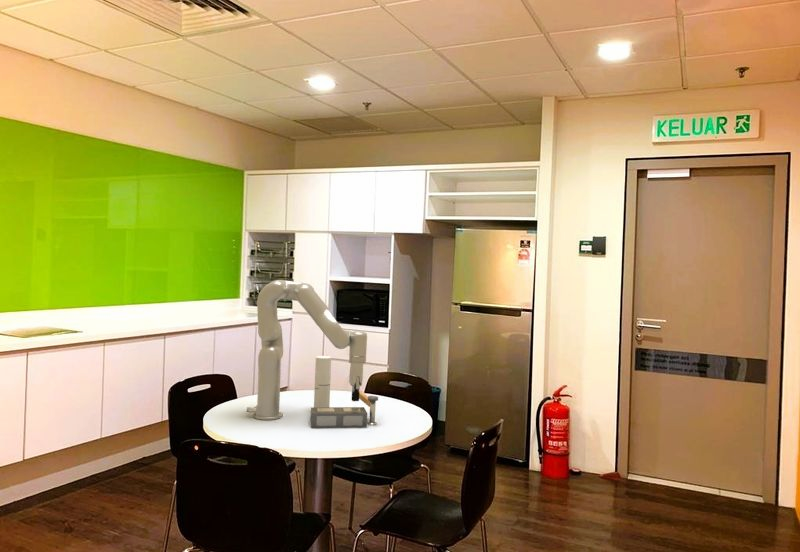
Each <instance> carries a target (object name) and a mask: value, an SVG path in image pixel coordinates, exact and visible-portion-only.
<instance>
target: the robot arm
mask: <svg viewBox="0 0 800 552" xmlns="http://www.w3.org/2000/svg"><path fill="white" fill-rule="evenodd" d="M280 300H289V301H294V302H295V301H296V302H298V303H299V304H300V306H301V307H302V308H303V309H304V311H306V313H307V314H308V316H309V317H310V318H311V319H312V321H313V322H314V323H315V324H316V326H317V327H318V328H319V329H320V331H322V333H323V334H324V336H325V337H326V338H327V339H328V340H329V341H330V343H331V344H332V346H333V347H334V348H336V349H338V350H344V349H346V348H348V347H349V350H348V351H349V353H348V363H349V364H350V366H349V375H348V383H349V385H350V386H351V387H352V388H351V389H352V391H351V402H360V399H359V393H360V392H359V391H360V387H362V386H363V377H364V365H365V364H366V363H367V344H368V335H367V332H364V331H360V330H359V331H357V330H356V331H350V330H345V329H344V328H343V327H342V326H341V325H340V324H339V323H338V321H337V320H336V318H335V317H334V315H333V314H332V313H333V312H332V311H331V310H330V308H329V307H328V305H327V304H326V303H325V302H324V300H323V299H322V298H321V297H320V295H318V293H317V292H316V291H315V289H314V287H313V286H312V285H311V284H309V283H306V282H305V283H304V282H298V281H290V280H284V279H275V280H272V281H271V282H269V283H267V284H266V285H264V286H263V288H262V289H261V290H260V291H259V293H258V296H257V301H256V302H257V303H256V305H257V306H256V307H257V308H256V309H257V310H256V311H257V333H258V336H259V338H260V339H261V340H260V341H261V349H260V350H259V353H258V357H257V366H258V367H257V368H258V369H257V371H258V375H257V378H258V379H257V398H256V399H257V400H256V402H257V404H256V406H254V407H251V406H249V407H246V413H249V414H251V413H253V415H252V417H253V418H254V419H256V420H262V421H270V420H271V421H272V420H278V419H281V418H282V417H283V415H284V414H283V413H282V412H281V411H280V399H281V395H280V394H281V375H282V373H281V370H282V369H281V367H282V366H281V365H282V363H281V362H282V358H283V356H284V341H283V340H284V339H283V328H282V324H281V323H280V322H279V321H278V307H277V306H278V305H277V304H278V302H279V301H280Z"/></svg>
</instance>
